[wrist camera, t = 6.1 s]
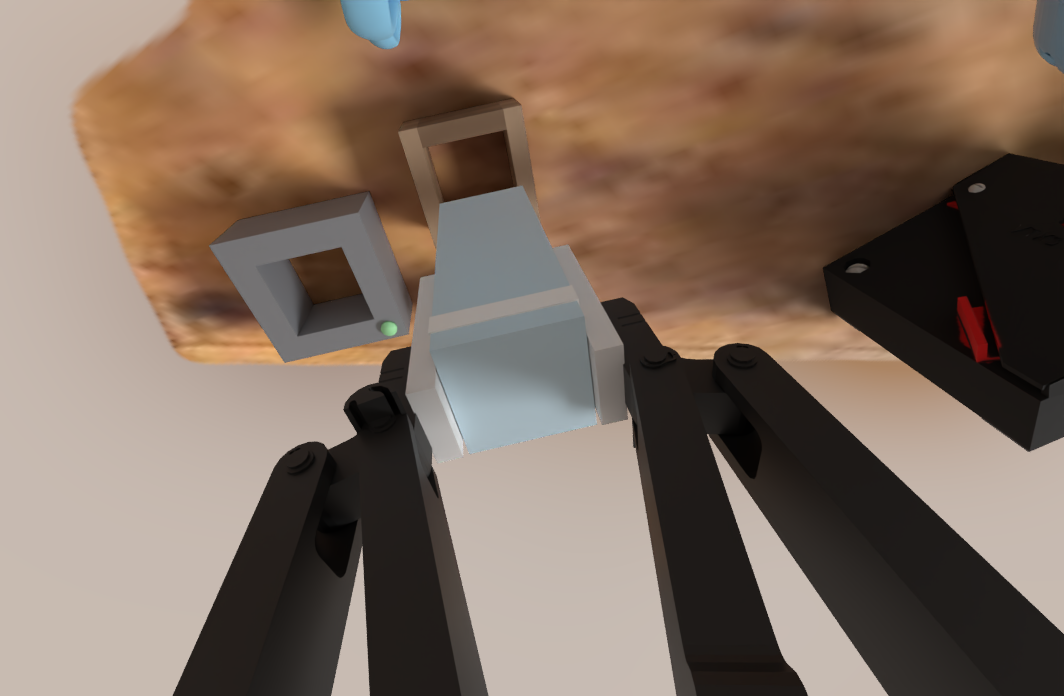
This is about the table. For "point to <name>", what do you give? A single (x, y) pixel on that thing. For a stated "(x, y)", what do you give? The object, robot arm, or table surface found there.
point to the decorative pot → (374, 20)
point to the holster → (459, 127)
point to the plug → (506, 325)
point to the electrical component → (974, 296)
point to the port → (279, 296)
